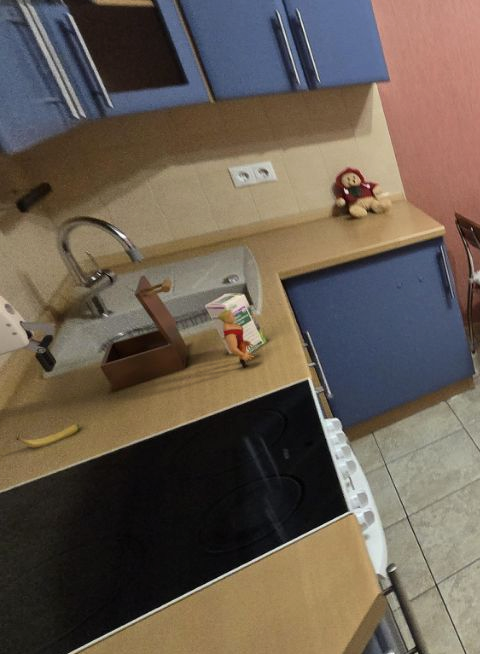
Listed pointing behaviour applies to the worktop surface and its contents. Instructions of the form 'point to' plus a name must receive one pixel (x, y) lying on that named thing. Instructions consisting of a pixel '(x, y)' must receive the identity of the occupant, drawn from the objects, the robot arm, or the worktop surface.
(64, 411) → the worktop surface
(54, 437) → the banana
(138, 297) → the lid
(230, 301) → the syrup box
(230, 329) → the action figure
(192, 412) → the worktop surface
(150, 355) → the chest
